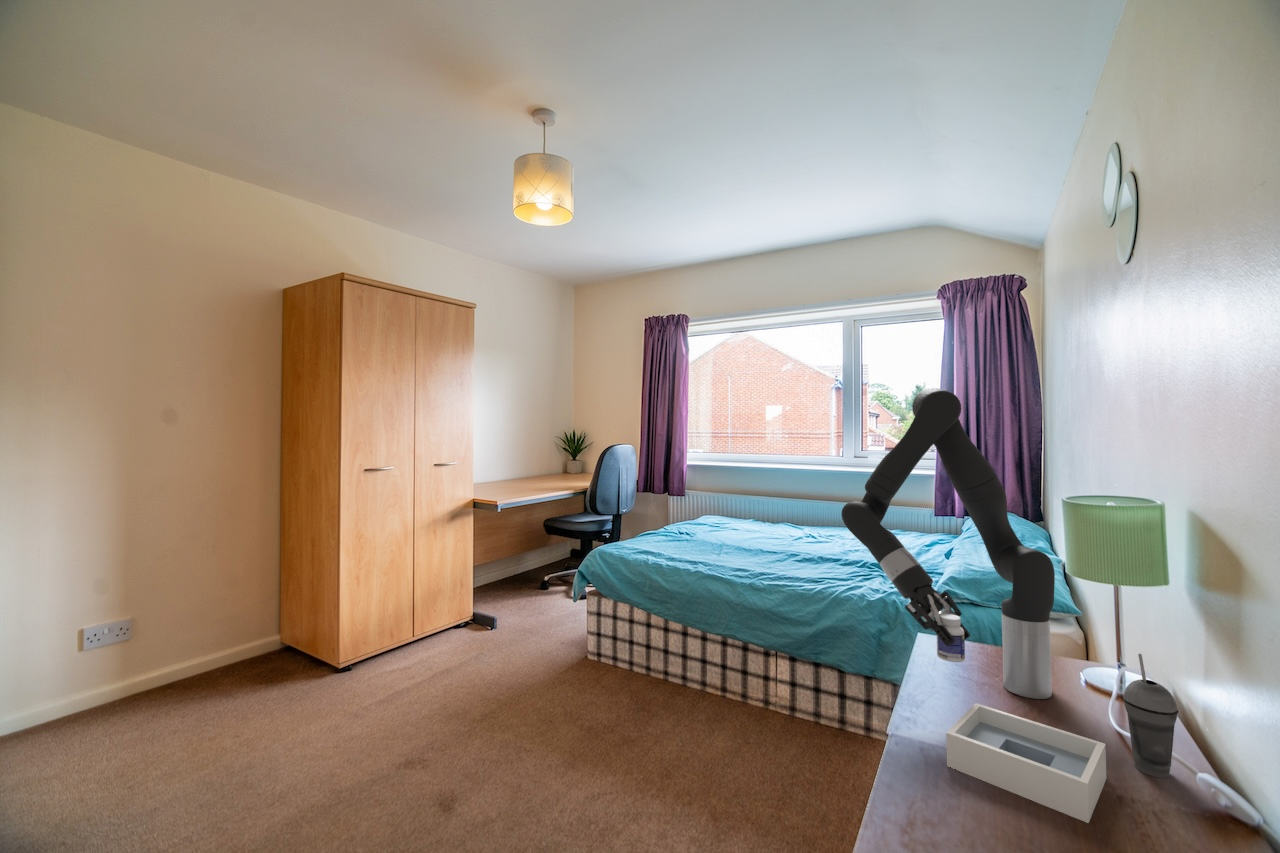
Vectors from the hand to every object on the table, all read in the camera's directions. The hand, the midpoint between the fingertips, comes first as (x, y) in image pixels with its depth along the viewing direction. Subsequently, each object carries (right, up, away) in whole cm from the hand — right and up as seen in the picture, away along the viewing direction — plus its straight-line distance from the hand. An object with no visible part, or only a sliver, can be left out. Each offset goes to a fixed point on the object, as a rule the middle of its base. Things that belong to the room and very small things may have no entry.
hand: (959, 640), depth 116 cm
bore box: (0, -16, -20) cm, 25 cm away
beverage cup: (+23, -16, -19) cm, 34 cm away
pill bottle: (-1, -4, +1) cm, 5 cm away
